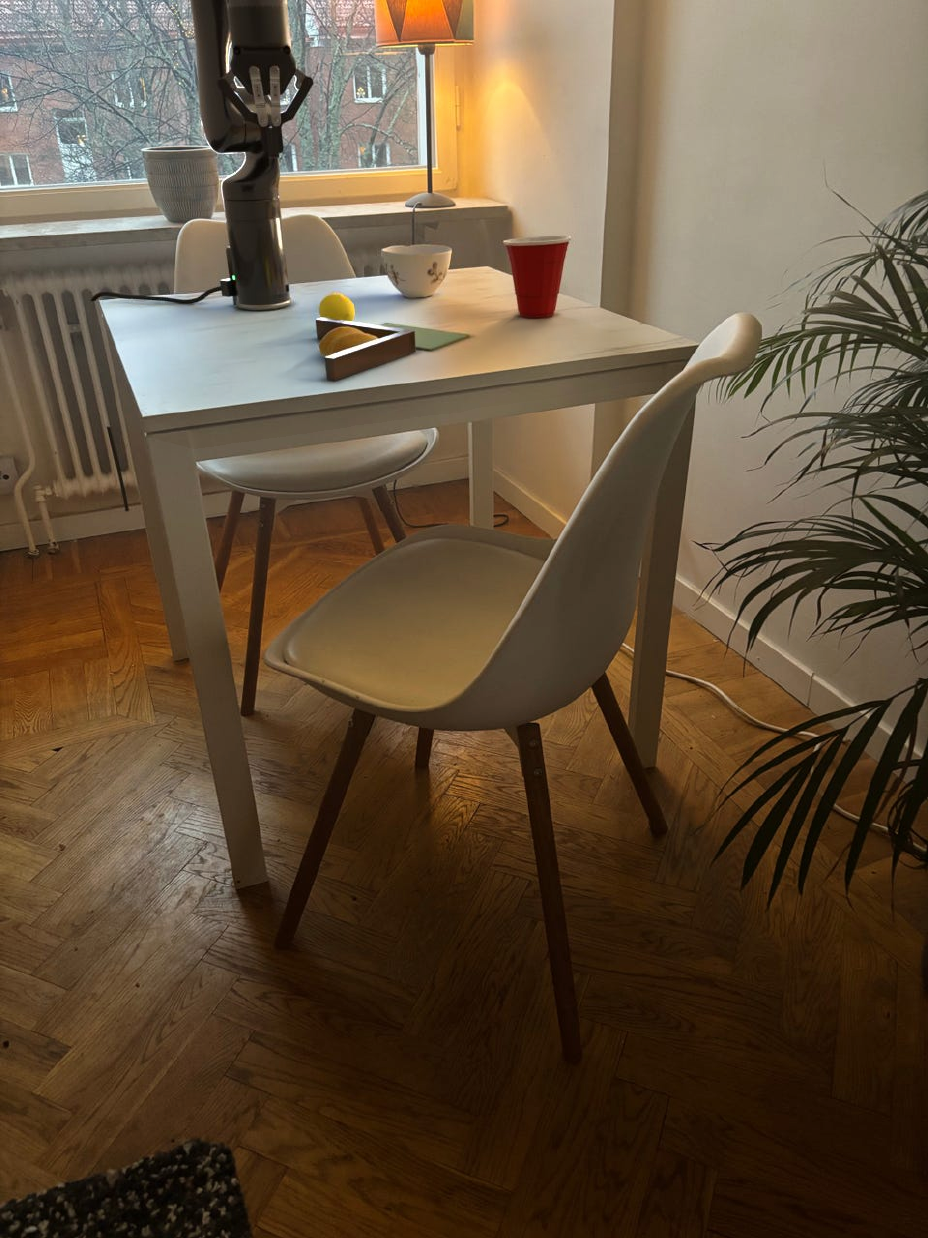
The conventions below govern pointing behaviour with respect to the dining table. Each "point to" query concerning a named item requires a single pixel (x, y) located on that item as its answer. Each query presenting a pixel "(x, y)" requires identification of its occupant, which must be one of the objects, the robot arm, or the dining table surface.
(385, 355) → the corner guide
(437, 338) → the cloth
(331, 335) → the bread roll
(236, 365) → the dining table surface
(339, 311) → the lemon
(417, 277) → the teacup
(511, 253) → the plastic cup
